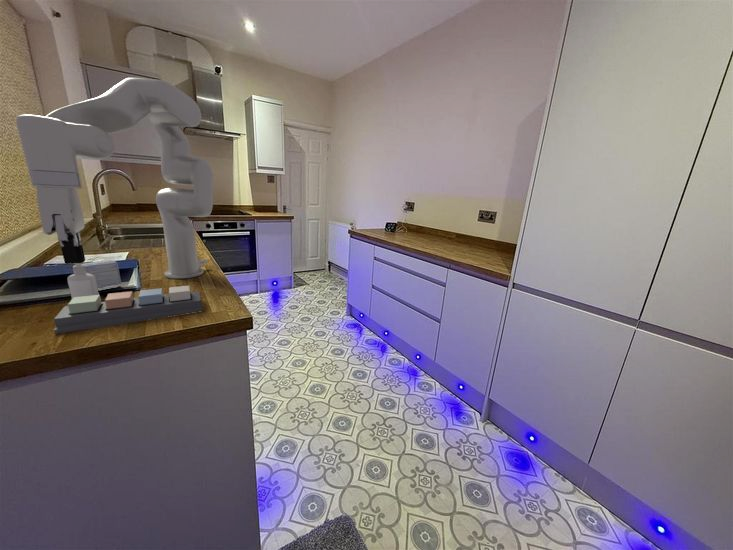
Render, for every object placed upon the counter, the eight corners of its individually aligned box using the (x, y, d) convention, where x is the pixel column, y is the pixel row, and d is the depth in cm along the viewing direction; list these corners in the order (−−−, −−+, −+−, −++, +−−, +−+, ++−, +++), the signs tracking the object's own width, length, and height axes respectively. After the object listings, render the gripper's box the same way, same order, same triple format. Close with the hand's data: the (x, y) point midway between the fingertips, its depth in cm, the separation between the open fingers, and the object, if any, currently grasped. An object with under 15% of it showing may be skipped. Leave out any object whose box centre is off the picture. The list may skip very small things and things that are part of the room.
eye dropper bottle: (84, 306, 79) (74, 264, 75) (70, 302, 80) (60, 261, 76) (102, 300, 83) (94, 260, 79) (88, 297, 84) (79, 257, 81)
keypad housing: (199, 298, 89) (198, 289, 88) (202, 312, 80) (201, 302, 79) (69, 314, 73) (66, 303, 73) (55, 333, 65) (51, 321, 64)
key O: (133, 299, 77) (132, 291, 77) (131, 306, 73) (129, 297, 73) (110, 302, 75) (108, 293, 74) (106, 309, 71) (104, 300, 70)
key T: (163, 296, 81) (161, 288, 80) (162, 302, 77) (161, 294, 76) (141, 298, 78) (140, 290, 77) (139, 305, 74) (138, 296, 74)
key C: (101, 303, 74) (99, 294, 73) (97, 310, 70) (95, 301, 69) (75, 306, 71) (73, 297, 71) (70, 313, 67) (67, 304, 67)
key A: (189, 293, 84) (189, 285, 83) (190, 298, 80) (189, 290, 80) (170, 295, 82) (169, 287, 81) (170, 301, 78) (168, 293, 77)
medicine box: (116, 284, 95) (111, 259, 93) (122, 287, 93) (117, 261, 91) (84, 290, 89) (78, 263, 86) (90, 294, 87) (84, 266, 84)
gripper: (44, 178, 66) (62, 256, 71) (15, 179, 54) (40, 272, 59) (88, 181, 70) (103, 254, 75) (70, 182, 58) (89, 269, 63)
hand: (75, 262), depth 67 cm, fingers closed
